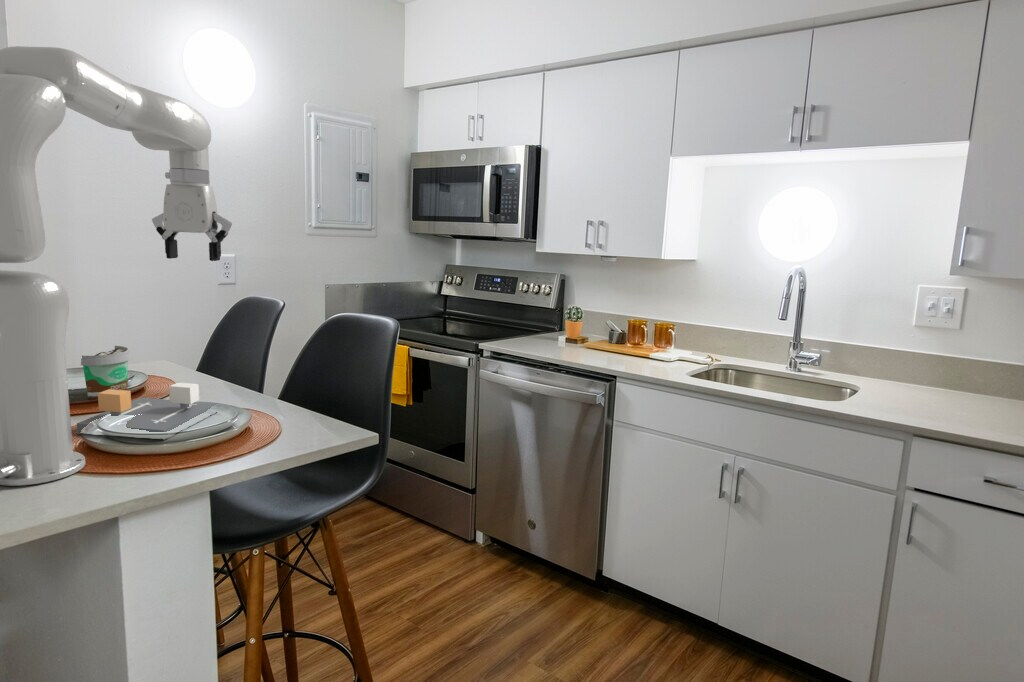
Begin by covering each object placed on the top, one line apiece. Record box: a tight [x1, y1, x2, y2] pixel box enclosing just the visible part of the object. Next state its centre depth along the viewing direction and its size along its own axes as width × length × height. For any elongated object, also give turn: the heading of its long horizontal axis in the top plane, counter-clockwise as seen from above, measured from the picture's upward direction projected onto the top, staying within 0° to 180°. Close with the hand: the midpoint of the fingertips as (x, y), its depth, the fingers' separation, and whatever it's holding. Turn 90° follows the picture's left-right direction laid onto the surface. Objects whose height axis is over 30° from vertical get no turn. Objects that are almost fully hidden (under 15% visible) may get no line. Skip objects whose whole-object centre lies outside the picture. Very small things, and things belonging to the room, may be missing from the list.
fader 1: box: [97, 389, 132, 416], centre depth 123 cm, size 3×4×5 cm
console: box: [76, 397, 218, 435], centre depth 128 cm, size 18×17×2 cm
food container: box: [80, 345, 132, 401], centre depth 144 cm, size 12×6×10 cm, turn 179°
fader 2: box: [168, 382, 200, 408], centre depth 130 cm, size 3×4×5 cm
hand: (193, 259), depth 141 cm, fingers open, 9 cm apart
